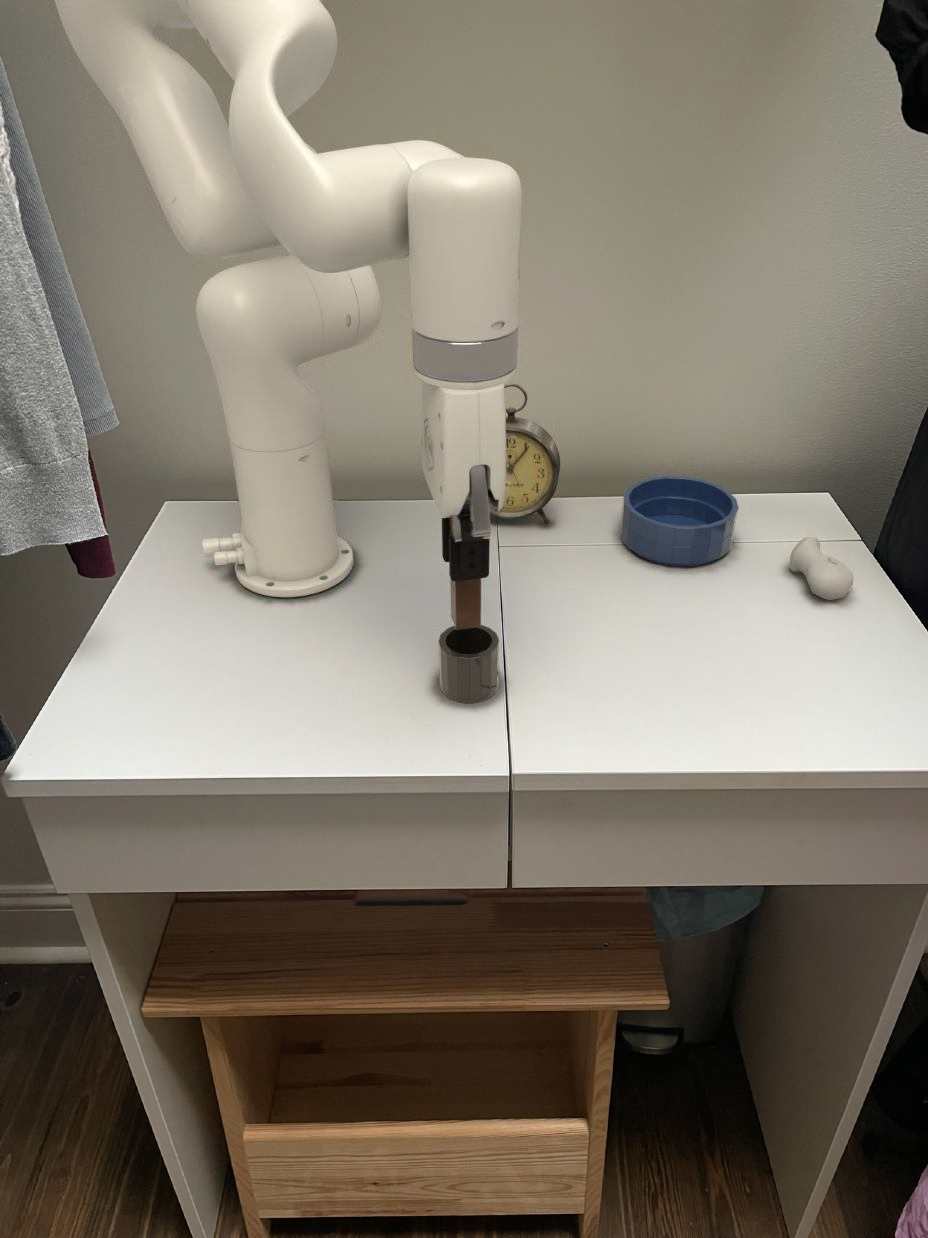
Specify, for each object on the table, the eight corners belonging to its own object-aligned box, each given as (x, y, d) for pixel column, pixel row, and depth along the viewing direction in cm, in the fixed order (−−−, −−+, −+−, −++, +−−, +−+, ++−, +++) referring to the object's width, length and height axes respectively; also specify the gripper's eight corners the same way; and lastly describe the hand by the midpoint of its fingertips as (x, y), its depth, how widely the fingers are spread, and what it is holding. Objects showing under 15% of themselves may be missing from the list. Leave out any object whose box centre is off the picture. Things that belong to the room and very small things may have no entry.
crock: (446, 707, 83) (445, 661, 80) (435, 671, 87) (433, 627, 84) (504, 698, 83) (505, 653, 81) (490, 663, 88) (490, 619, 85)
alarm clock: (460, 524, 109) (458, 390, 100) (468, 502, 114) (466, 372, 105) (555, 531, 108) (562, 395, 99) (559, 509, 112) (566, 376, 103)
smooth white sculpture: (851, 614, 96) (808, 605, 94) (817, 571, 102) (777, 562, 101) (873, 579, 93) (829, 569, 92) (837, 537, 100) (796, 528, 98)
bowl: (643, 575, 100) (648, 534, 97) (605, 521, 110) (608, 482, 107) (750, 561, 102) (757, 520, 99) (703, 509, 112) (709, 470, 109)
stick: (456, 630, 80) (454, 517, 74) (450, 616, 82) (448, 504, 76) (481, 627, 81) (481, 514, 74) (475, 612, 83) (475, 501, 76)
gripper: (396, 319, 73) (405, 526, 84) (434, 397, 61) (439, 629, 71) (490, 313, 75) (487, 517, 85) (546, 387, 62) (535, 617, 73)
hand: (465, 566), depth 78 cm, fingers closed on stick, 2 cm apart
